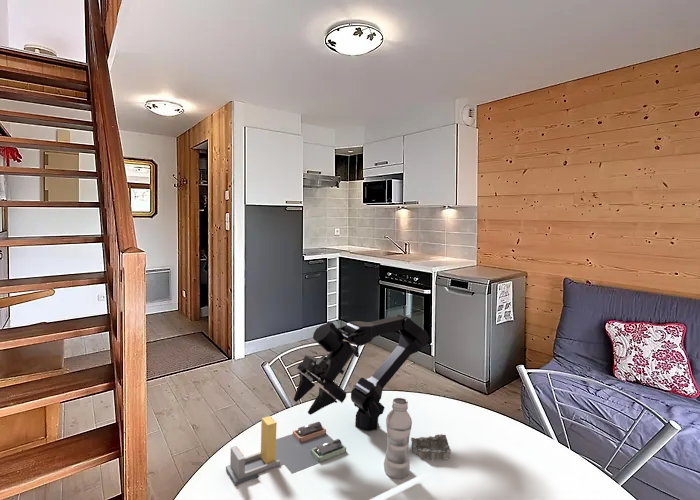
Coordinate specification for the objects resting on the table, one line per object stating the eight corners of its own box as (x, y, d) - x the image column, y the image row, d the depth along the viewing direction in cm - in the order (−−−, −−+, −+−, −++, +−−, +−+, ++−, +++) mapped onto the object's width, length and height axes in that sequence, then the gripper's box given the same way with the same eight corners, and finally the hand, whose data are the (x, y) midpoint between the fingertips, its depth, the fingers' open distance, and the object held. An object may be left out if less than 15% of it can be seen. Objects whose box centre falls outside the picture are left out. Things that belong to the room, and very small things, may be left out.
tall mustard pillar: (269, 454, 108) (270, 415, 107) (275, 462, 105) (276, 422, 104) (260, 457, 107) (261, 418, 106) (266, 465, 104) (267, 425, 102)
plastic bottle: (408, 485, 100) (413, 409, 98) (381, 480, 101) (385, 405, 99) (410, 469, 106) (414, 397, 104) (384, 465, 108) (388, 393, 106)
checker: (317, 428, 124) (318, 410, 123) (347, 455, 111) (347, 435, 111) (220, 460, 107) (220, 439, 106) (241, 496, 94) (242, 472, 93)
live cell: (336, 446, 114) (336, 436, 113) (341, 451, 111) (342, 441, 111) (314, 454, 110) (315, 444, 109) (320, 459, 107) (320, 449, 107)
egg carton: (446, 447, 118) (447, 434, 117) (451, 463, 110) (452, 449, 110) (409, 444, 118) (410, 431, 118) (412, 460, 111) (413, 446, 110)
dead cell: (317, 428, 122) (317, 420, 122) (321, 433, 120) (322, 424, 120) (296, 435, 118) (296, 426, 118) (301, 440, 116) (301, 430, 116)
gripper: (303, 335, 119) (268, 379, 114) (337, 355, 104) (299, 407, 99) (325, 355, 124) (292, 398, 119) (361, 377, 109) (326, 428, 104)
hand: (301, 407), depth 110 cm, fingers open, 8 cm apart
